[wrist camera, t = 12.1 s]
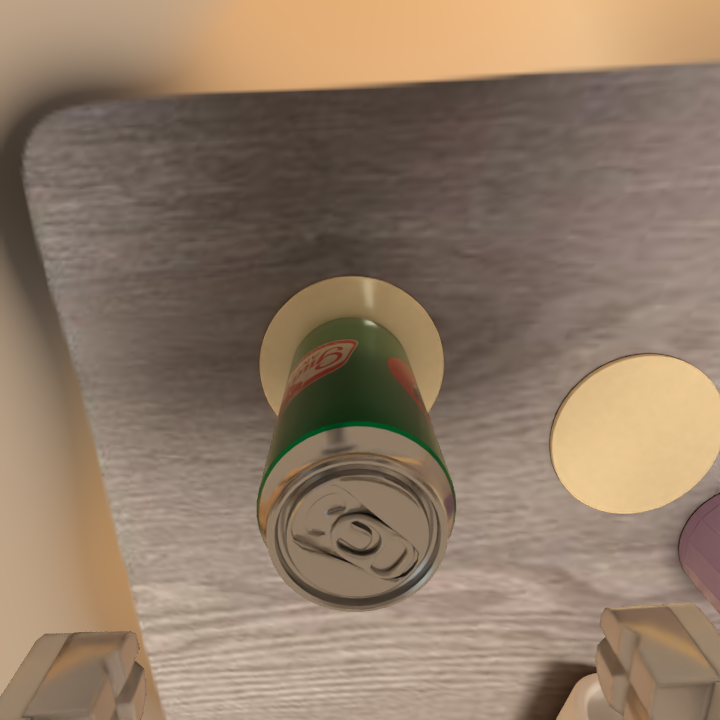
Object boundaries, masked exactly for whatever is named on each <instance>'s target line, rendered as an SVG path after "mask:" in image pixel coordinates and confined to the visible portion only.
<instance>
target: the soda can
mask: <svg viewBox="0 0 720 720" xmlns="http://www.w3.org/2000/svg"><path fill="white" fill-rule="evenodd" d="M455 514H456V497H455V491H454V487H453V483H452V480H451V477H450V474H449V471H448V468H447V466H446V463H445V460H444V457H443V454H442V452H441V449H440V446H439V443H438V441H437V438H436V435H435V432H434V429H433V427H432V424H431V421H430V418H429V415H428V413H427V410H426V407H425V404H424V401H423V399H422V396H421V393H420V390H419V387H418V385H417V382H416V379H415V376H414V373H413V371H412V368H411V365H410V362H409V359H408V357H407V354H406V352H405V350H404V348H403V346H402V344H401V343H400V341H399V340H398V339H397V338H396V337H395V336H394V334H393V333H391V332H390V331H389V330H388V329H386V328H385V327H383V326H381V325H380V324H378V323H376V322H373V321H370V320H367V319H362V318H354V317H346V318H338V319H335V320H331V321H328V322H326V323H324V324H321V325H320V326H318V327H317V328H315V329H313V330H312V331H311V332H310V333H309V334H308V335H307V336H306V337H305V338H304V339H303V340H302V342H301V343H300V344H299V346H298V348H297V350H296V351H295V354H294V357H293V360H292V363H291V367H290V371H289V375H288V379H287V383H286V387H285V391H284V394H283V398H282V402H281V406H280V410H279V414H278V418H277V422H276V426H275V429H274V433H273V437H272V441H271V445H270V449H269V453H268V457H267V461H266V464H265V468H264V472H263V476H262V480H261V484H260V488H259V493H258V498H257V520H258V525H259V530H260V533H261V536H262V538H263V541H264V543H265V545H266V547H267V548H268V551H269V554H270V557H271V560H272V562H273V565H274V567H275V568H276V570H277V572H278V573H279V575H280V576H281V578H282V579H283V580H284V581H285V582H286V584H287V585H288V586H289V587H291V588H292V589H293V590H294V591H295V592H296V593H298V594H299V595H301V596H302V597H304V598H305V599H307V600H309V601H311V602H313V603H315V604H318V605H320V606H323V607H327V608H330V609H334V610H340V611H348V612H363V611H372V610H377V609H381V608H386V607H389V606H391V605H394V604H397V603H399V602H401V601H403V600H405V599H407V598H408V597H410V596H412V595H413V594H414V593H416V592H417V591H419V590H420V589H421V588H422V587H423V586H424V585H425V584H426V583H427V582H428V581H429V580H430V579H431V578H432V577H433V575H434V574H435V572H436V571H437V570H438V568H439V566H440V564H441V562H442V560H443V558H444V555H445V551H446V548H447V543H448V539H449V537H450V535H451V532H452V529H453V525H454V522H455Z"/></svg>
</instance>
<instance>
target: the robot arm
mask: <svg viewBox="0 0 720 720" xmlns="http://www.w3.org/2000/svg"><path fill="white" fill-rule="evenodd" d="M600 627H601V629H602V631H603V633H604V635H605V638H604V639H603V640H602V641H601V642H600V643H599V644H598V645H597V651H596V668H597V675H598V680H599V683H600V686H601V689H602V692H603V694H604V696H605V699H606V701H607V703H608V705H609V706H610V707H611V708H612V709H613V710H615V711H616V712H617V713H619V714H620V715H621V716H622V717H623V720H720V633H719V632H718V630H717V629H716V628H715V627H714V626H713V624H712V623H711V622H710V621H709V619H708V618H707V617H706V616H705V614H704V613H703V612H702V611H701V609H700V608H699V607H698V606H696V605H695V604H693V603H676V604H663V605H646V606H629V607H612V608H605V609H604V611H603V612H602V614H601V620H600ZM139 649H140V648H139V643H138V640H137V636H136V633H134V632H131V631H123V632H79V633H71V634H70V633H68V634H67V633H65V634H44V635H43V636H42V637H40V638H39V639H38V640H37V641H36V642H35V643H34V645H33V647H32V648H31V650H30V651H29V653H28V654H27V656H26V658H25V659H24V661H23V662H22V664H21V665H20V667H19V668H18V670H17V672H16V673H15V675H14V676H13V678H12V679H11V681H10V683H9V684H8V686H7V687H6V689H5V690H4V692H3V694H2V695H1V697H0V720H141V718H142V715H143V711H144V705H145V699H146V678H145V671H144V668H143V667H142V666H141V665H139V664H138V663H137V662H136V661H135V659H136V656H137V654H138V651H139Z"/></svg>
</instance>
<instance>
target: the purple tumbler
mask: <svg viewBox="0 0 720 720" xmlns="http://www.w3.org/2000/svg"><path fill="white" fill-rule="evenodd" d="M679 557H680V561H681V564H682V567H683V569H684V571H685V572H686V574H687V575H688V576H689V577H690V579H691V581H692V582H693V583H694V584H695V586H696V587H697V588H698V589H699V590H700V591H701V593H702V594H703V595H704V596H705V597H706V598H707V600H708V601H709V602H710V603H711V604H712V605H713V607H714V608H715V609H716V610H717V611H718V612H719V614H720V494H718V495H717V496H715V497H713V498H711V499H710V500H709V501H707V502H706V503H704V504H703V505H702V506H701V507H700V508H699V509H698V510H697V511H696V512H695V513H694V514H693V515H692V517H691V518H690V519H689V521H688V522H687V524H686V526H685V528H684V530H683V532H682V535H681V539H680V543H679Z"/></svg>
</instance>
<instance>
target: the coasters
mask: <svg viewBox="0 0 720 720" xmlns="http://www.w3.org/2000/svg"><path fill="white" fill-rule="evenodd" d="M346 317H354V318H362V319H367V320H370V321H373V322H376V323H378V324H380V325H381V326H383V327H385V328H386V329H388V330H389V331H390V332H391V333H393V334H394V336H395V337H396V338H397V339H398V340H399V341H400V343H401V344H402V346H403V348H404V350H405V352H406V354H407V357H408V359H409V362H410V365H411V368H412V371H413V373H414V376H415V379H416V382H417V385H418V387H419V390H420V393H421V396H422V399H423V401H424V404H425V407H426V410H427V413H428V412H429V410H430V409H431V407H432V406H433V404H434V402H435V400H436V398H437V396H438V393H439V390H440V387H441V383H442V379H443V371H444V354H443V348H442V343H441V340H440V337H439V334H438V331H437V329H436V327H435V325H434V323H433V321H432V319H431V318H430V316H429V315H428V314H427V312H426V311H425V309H424V308H423V307H422V306H421V305H420V304H419V303H418V302H417V301H416V300H415V299H414V298H413V297H411V296H410V295H409V294H408V293H406V292H405V291H403V290H401V289H400V288H398V287H397V286H394V285H392V284H390V283H388V282H385V281H382V280H379V279H375V278H371V277H364V276H340V277H334V278H329V279H325V280H322V281H319V282H317V283H314V284H312V285H310V286H308V287H306V288H304V289H303V290H301V291H299V292H298V293H297V294H295V295H294V296H293V297H291V298H290V299H289V300H288V301H287V302H286V303H285V304H284V305H283V306H282V307H281V308H280V310H279V311H278V312H277V313H276V315H275V316H274V318H273V320H272V321H271V323H270V325H269V327H268V329H267V331H266V334H265V336H264V339H263V343H262V347H261V352H260V360H259V362H260V377H261V383H262V386H263V390H264V393H265V396H266V398H267V400H268V402H269V404H270V406H271V407H272V409H273V411H274V412H275V414H276V415H277V416H278V414H279V410H280V406H281V402H282V398H283V394H284V391H285V387H286V383H287V379H288V375H289V371H290V367H291V363H292V360H293V357H294V354H295V351H296V350H297V348H298V346H299V344H300V343H301V342H302V340H303V339H304V338H305V337H306V336H307V335H308V334H309V333H310V332H311V331H312V330H313V329H315V328H317V327H318V326H320V325H321V324H324V323H326V322H328V321H331V320H335V319H338V318H346ZM719 450H720V395H719V393H718V391H717V389H716V387H715V386H714V384H713V383H712V382H711V381H710V379H709V378H708V377H707V376H706V375H705V374H704V373H702V372H701V371H700V370H699V369H697V368H696V367H694V366H693V365H691V364H689V363H687V362H685V361H682V360H680V359H677V358H674V357H671V356H666V355H659V354H642V355H633V356H629V357H625V358H621V359H618V360H615V361H613V362H610V363H608V364H606V365H604V366H602V367H600V368H598V369H597V370H595V371H594V372H592V373H591V374H589V375H588V376H587V377H585V378H584V379H583V380H582V381H580V382H579V383H578V385H577V386H576V387H575V388H574V389H573V390H572V391H571V392H570V393H569V395H568V396H567V397H566V399H565V400H564V402H563V403H562V405H561V407H560V408H559V410H558V413H557V415H556V417H555V420H554V423H553V426H552V430H551V437H550V454H551V460H552V464H553V467H554V470H555V472H556V474H557V476H558V478H559V480H560V481H561V482H562V484H563V485H564V487H565V488H566V489H567V490H568V491H569V492H570V493H571V494H572V495H573V496H574V497H575V498H576V499H578V500H579V501H580V502H582V503H584V504H586V505H587V506H590V507H592V508H595V509H597V510H601V511H605V512H609V513H617V514H631V513H640V512H644V511H649V510H652V509H655V508H658V507H661V506H664V505H666V504H668V503H670V502H672V501H674V500H676V499H677V498H679V497H681V496H682V495H683V494H685V493H686V492H688V491H689V490H690V489H691V488H692V487H694V486H695V485H696V484H697V483H698V482H699V481H700V480H701V479H702V477H703V476H704V475H705V474H706V473H707V471H708V470H709V469H710V467H711V466H712V464H713V462H714V461H715V459H716V457H717V455H718V452H719Z"/></svg>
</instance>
